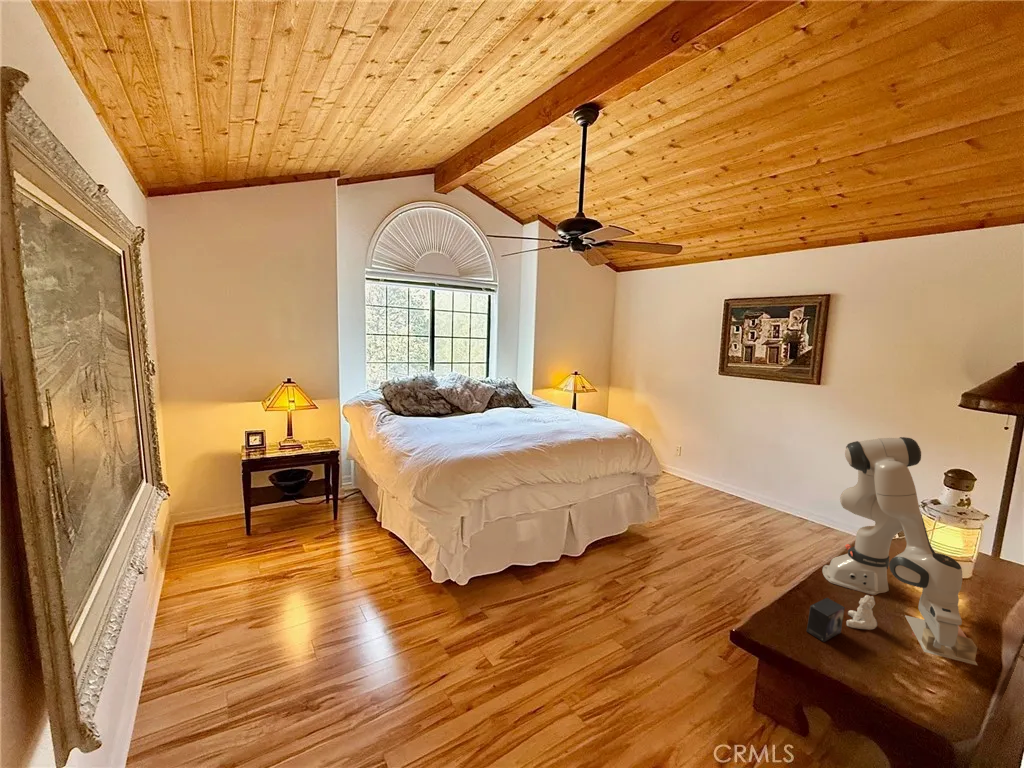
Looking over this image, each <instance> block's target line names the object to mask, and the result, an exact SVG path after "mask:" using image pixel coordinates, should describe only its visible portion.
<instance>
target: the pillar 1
mask: <svg viewBox="0 0 1024 768" xmlns="http://www.w3.org/2000/svg"><path fill="white" fill-rule="evenodd" d="M933 640H935V636H934V635H933V633H932V631H931V630H930V629H928V628H924V630H923V636H922V642H923V644H924V646H925V648H926V649H927V650H931V651H935V652H939V653H943V654H944V650H945V646H944V645H941V648H940V649H939V648H935V647H934V646H933V644H932V643H933Z"/></svg>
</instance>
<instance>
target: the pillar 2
mask: <svg viewBox="0 0 1024 768" xmlns="http://www.w3.org/2000/svg"><path fill="white" fill-rule="evenodd" d="M966 637H967V636H966ZM966 637H961V636H957V639H956V643H955V645H954V646H953V647H951V649H952V650H953V652H954V654H955V655H956V657H959V658H963V659H967V660H971V661H976V657H977V656H976V655H977V651H978V647H977V645H976V644H975V642H974V641H973V639H972V638H970V637H967V638H966Z"/></svg>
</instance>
